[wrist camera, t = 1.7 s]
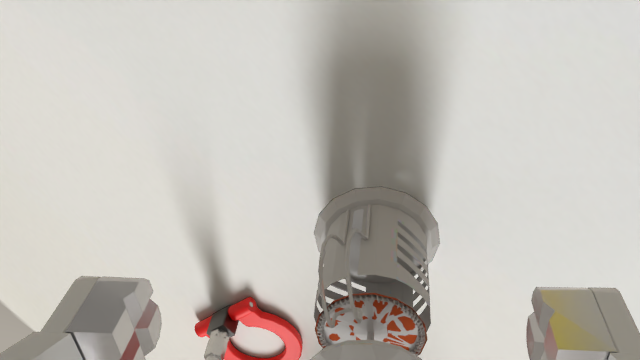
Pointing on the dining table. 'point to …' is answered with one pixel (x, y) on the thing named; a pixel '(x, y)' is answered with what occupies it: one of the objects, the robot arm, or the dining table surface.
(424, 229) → the french press
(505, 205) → the dining table surface
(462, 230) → the dining table surface
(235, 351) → the tow hook
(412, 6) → the dining table surface
